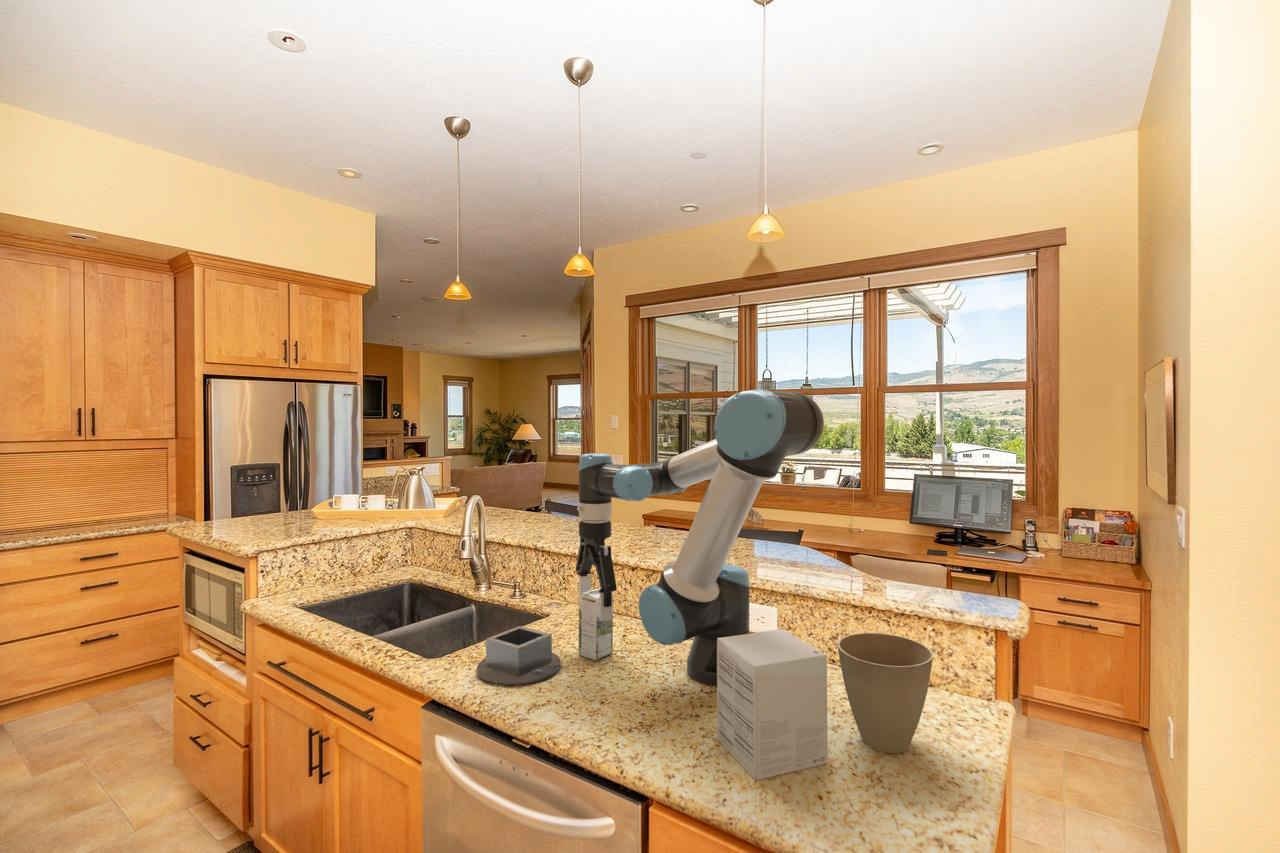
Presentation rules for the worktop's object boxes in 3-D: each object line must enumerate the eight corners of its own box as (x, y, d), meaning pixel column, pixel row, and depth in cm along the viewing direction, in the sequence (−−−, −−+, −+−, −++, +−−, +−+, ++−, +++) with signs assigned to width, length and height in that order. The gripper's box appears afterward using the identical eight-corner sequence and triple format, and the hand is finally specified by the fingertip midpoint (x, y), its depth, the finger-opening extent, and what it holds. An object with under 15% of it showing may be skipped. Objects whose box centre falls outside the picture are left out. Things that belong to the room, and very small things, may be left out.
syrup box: (595, 648, 145) (594, 587, 145) (613, 654, 142) (613, 591, 141) (578, 655, 141) (577, 592, 141) (596, 661, 137) (596, 597, 137)
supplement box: (782, 725, 108) (782, 627, 108) (829, 764, 96) (829, 654, 96) (715, 739, 104) (714, 636, 103) (755, 782, 91) (755, 666, 91)
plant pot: (840, 714, 112) (840, 628, 112) (929, 729, 107) (929, 638, 106) (835, 756, 98) (834, 657, 98) (937, 775, 93) (937, 671, 92)
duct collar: (577, 664, 136) (577, 632, 136) (518, 694, 121) (517, 658, 121) (520, 647, 146) (520, 618, 146) (459, 672, 131) (459, 640, 131)
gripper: (563, 513, 151) (562, 598, 151) (599, 530, 128) (599, 631, 129) (591, 511, 154) (591, 594, 154) (631, 528, 131) (631, 625, 132)
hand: (594, 611), depth 141 cm, fingers open, 13 cm apart
